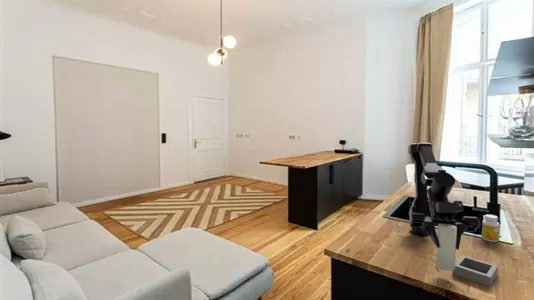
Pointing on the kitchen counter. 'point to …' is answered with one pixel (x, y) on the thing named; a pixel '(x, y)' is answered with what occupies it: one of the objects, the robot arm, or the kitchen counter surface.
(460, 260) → the socket collar
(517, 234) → the kitchen counter surface
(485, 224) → the supplement bottle
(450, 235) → the sage peg
